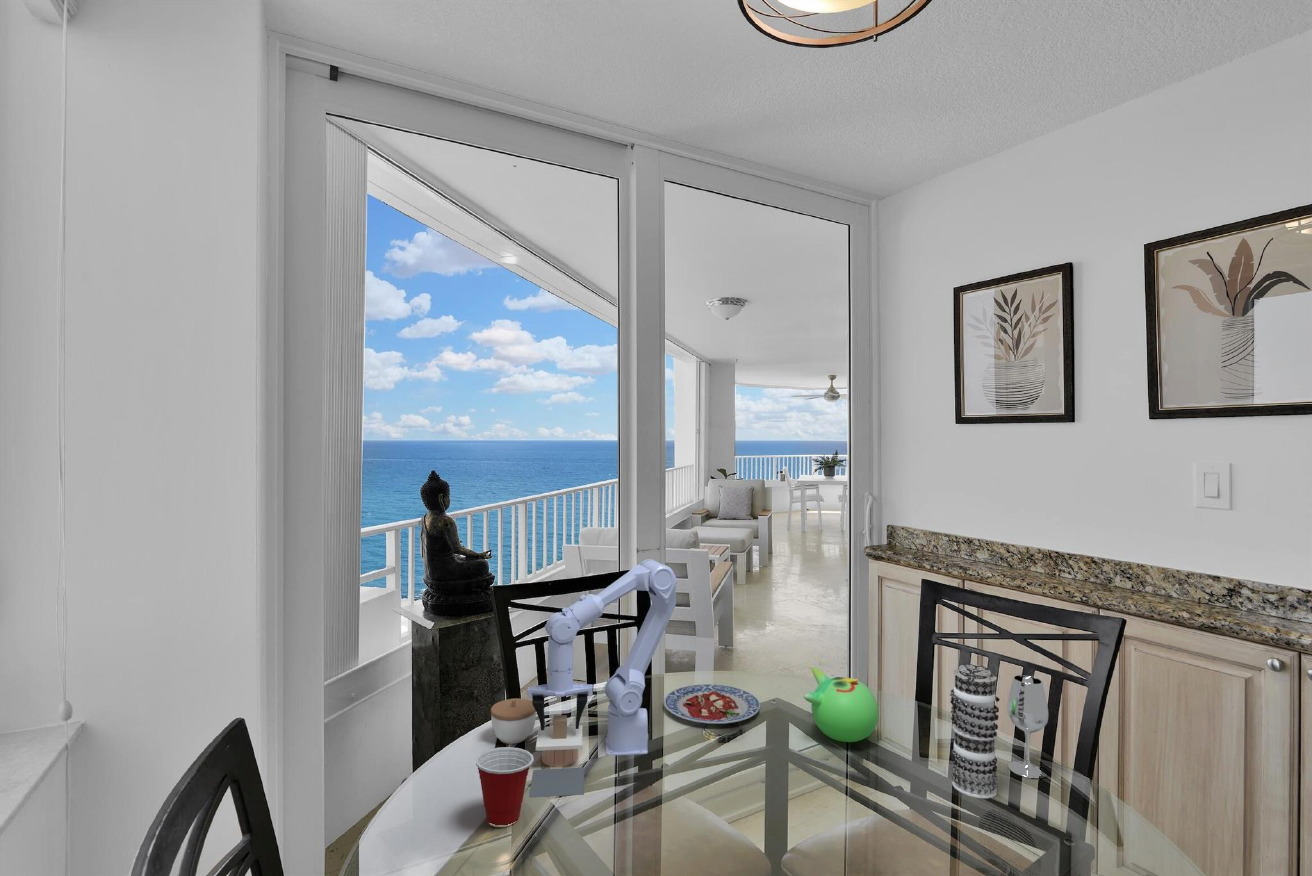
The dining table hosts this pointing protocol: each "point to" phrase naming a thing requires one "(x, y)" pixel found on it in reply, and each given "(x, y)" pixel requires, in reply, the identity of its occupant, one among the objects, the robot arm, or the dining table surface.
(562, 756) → the bowl
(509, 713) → the lidded jar
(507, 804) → the plastic cup
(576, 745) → the lid
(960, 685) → the decorative candle
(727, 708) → the ceramic plate
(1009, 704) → the wineglass
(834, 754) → the dining table surface
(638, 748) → the robot arm
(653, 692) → the dining table surface
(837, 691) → the toy bird
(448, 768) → the dining table surface
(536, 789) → the mat
